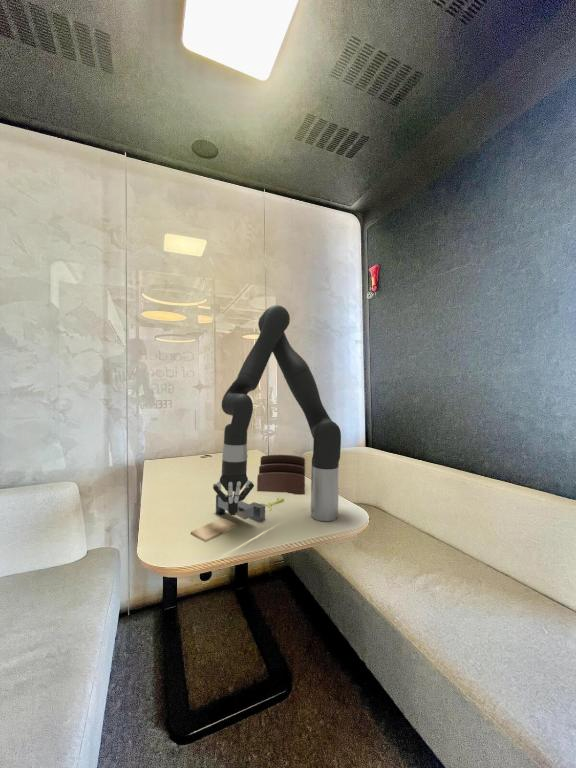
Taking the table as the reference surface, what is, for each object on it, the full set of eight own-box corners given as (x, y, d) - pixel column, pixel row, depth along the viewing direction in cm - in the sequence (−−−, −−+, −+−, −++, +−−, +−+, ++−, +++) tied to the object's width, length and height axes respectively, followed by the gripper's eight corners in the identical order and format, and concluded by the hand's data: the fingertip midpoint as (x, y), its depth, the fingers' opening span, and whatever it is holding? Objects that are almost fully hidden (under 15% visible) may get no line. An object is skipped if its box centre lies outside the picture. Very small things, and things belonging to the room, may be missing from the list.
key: (284, 503, 114) (284, 497, 114) (268, 515, 103) (268, 509, 103) (268, 499, 118) (268, 494, 118) (250, 511, 107) (251, 505, 107)
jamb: (226, 505, 109) (226, 492, 109) (264, 521, 98) (265, 505, 98) (203, 515, 101) (203, 500, 101) (242, 532, 90) (243, 516, 90)
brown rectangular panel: (222, 521, 97) (222, 517, 97) (237, 528, 93) (237, 524, 93) (190, 535, 88) (190, 531, 88) (205, 543, 83) (205, 539, 83)
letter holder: (260, 485, 133) (260, 453, 133) (304, 486, 132) (305, 455, 133) (256, 493, 123) (257, 459, 124) (304, 495, 123) (305, 460, 123)
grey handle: (213, 512, 102) (213, 495, 102) (221, 509, 105) (222, 492, 105) (244, 529, 91) (245, 509, 91) (253, 525, 94) (253, 506, 94)
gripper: (253, 454, 98) (251, 507, 98) (211, 455, 94) (209, 511, 93) (258, 460, 91) (256, 517, 90) (213, 461, 86) (211, 521, 86)
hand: (232, 514), depth 92 cm, fingers closed
